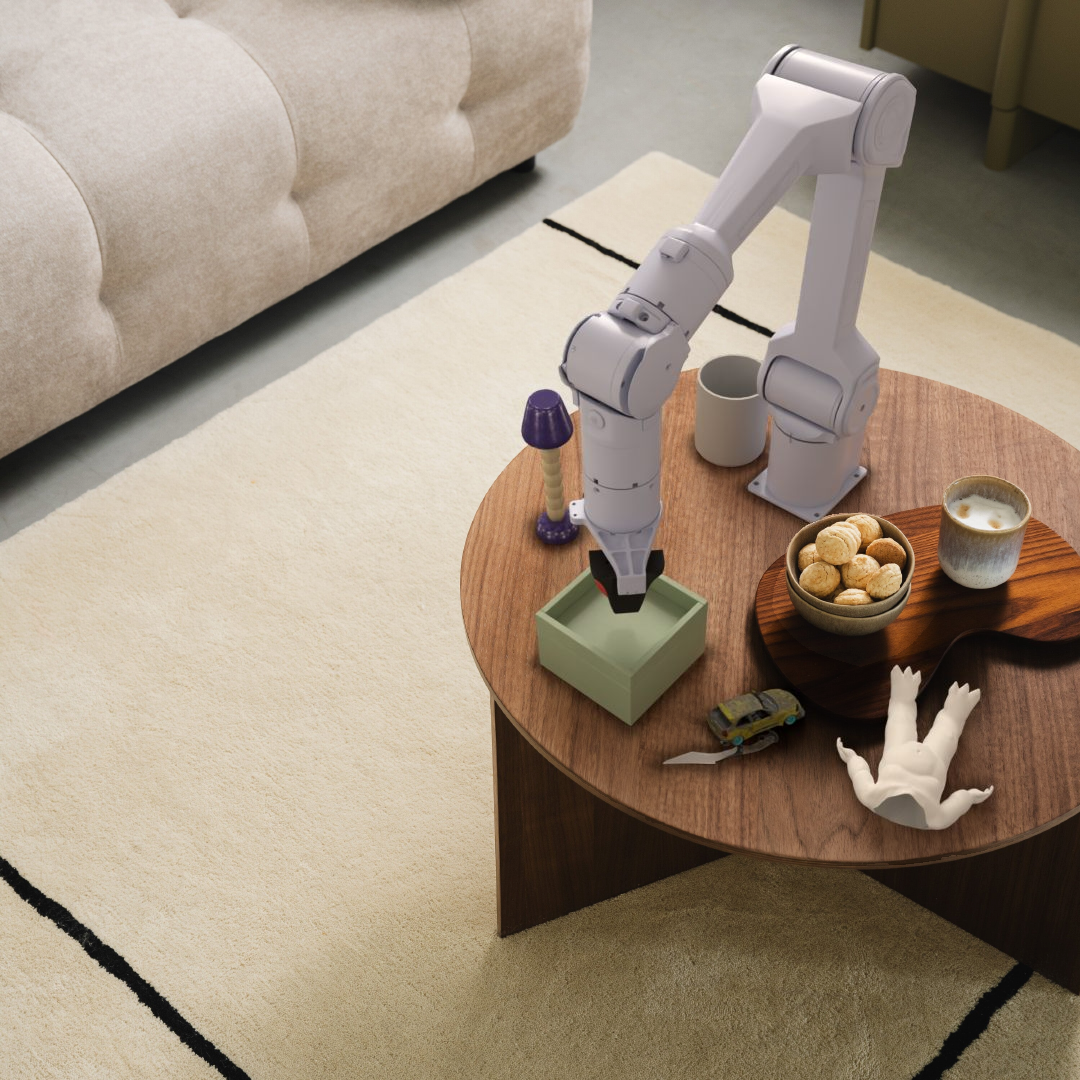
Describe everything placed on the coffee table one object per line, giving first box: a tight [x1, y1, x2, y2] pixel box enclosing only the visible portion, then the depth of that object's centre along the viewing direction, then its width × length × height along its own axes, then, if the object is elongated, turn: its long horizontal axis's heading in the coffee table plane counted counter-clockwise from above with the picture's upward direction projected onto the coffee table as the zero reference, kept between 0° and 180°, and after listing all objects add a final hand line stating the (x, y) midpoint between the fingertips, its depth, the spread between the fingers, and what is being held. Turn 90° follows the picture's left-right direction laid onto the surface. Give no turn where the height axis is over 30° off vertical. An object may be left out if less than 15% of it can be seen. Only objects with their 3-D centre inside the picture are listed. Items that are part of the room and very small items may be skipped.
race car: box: [705, 688, 806, 747], centre depth 94 cm, size 4×8×2 cm, turn 112°
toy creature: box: [836, 664, 995, 831], centre depth 89 cm, size 12×6×12 cm
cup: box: [694, 353, 769, 468], centre depth 116 cm, size 7×10×9 cm
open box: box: [534, 565, 709, 727], centre depth 98 cm, size 10×10×7 cm
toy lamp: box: [520, 388, 581, 546], centre depth 105 cm, size 5×5×17 cm
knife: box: [662, 729, 779, 765], centre depth 93 cm, size 10×2×1 cm, turn 107°
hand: (623, 586), depth 93 cm, fingers closed on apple, 4 cm apart
